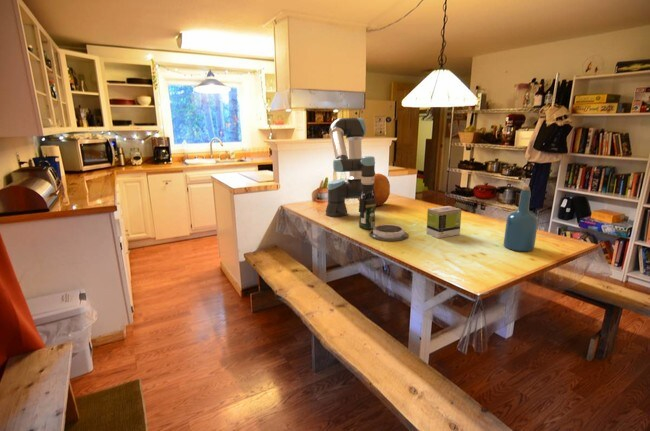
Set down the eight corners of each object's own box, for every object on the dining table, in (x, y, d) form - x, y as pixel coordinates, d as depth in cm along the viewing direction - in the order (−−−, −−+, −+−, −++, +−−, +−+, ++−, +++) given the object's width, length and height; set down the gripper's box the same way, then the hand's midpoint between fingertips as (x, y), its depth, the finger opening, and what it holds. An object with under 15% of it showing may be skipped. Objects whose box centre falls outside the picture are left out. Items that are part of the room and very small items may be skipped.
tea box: (447, 230, 193) (449, 205, 189) (460, 235, 184) (462, 208, 180) (425, 233, 188) (427, 207, 184) (437, 238, 179) (439, 211, 175)
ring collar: (380, 227, 200) (380, 221, 199) (414, 233, 188) (414, 227, 187) (362, 236, 184) (362, 230, 183) (398, 244, 172) (398, 237, 171)
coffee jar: (356, 226, 202) (356, 196, 198) (366, 224, 207) (367, 194, 202) (367, 230, 195) (367, 199, 190) (377, 228, 199) (378, 197, 194)
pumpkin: (358, 209, 246) (358, 168, 238) (353, 202, 267) (353, 164, 260) (393, 208, 248) (394, 167, 240) (385, 201, 269) (386, 164, 262)
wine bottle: (518, 254, 156) (527, 190, 148) (496, 244, 168) (503, 185, 161) (541, 250, 159) (551, 188, 152) (518, 241, 172) (526, 183, 164)
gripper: (364, 186, 184) (363, 226, 189) (382, 181, 200) (381, 218, 206) (352, 185, 188) (352, 224, 194) (371, 180, 204) (370, 216, 210)
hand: (367, 221), depth 200 cm, fingers closed on coffee jar, 8 cm apart
